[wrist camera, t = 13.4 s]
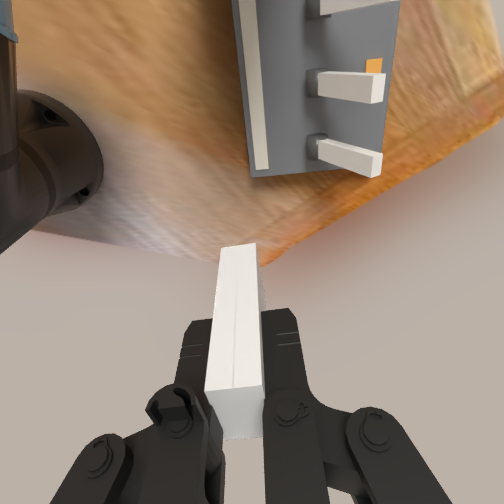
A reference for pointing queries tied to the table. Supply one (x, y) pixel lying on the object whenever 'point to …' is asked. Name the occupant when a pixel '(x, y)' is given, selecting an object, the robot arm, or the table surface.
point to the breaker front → (335, 7)
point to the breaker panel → (294, 79)
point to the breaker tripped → (345, 85)
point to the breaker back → (343, 155)
